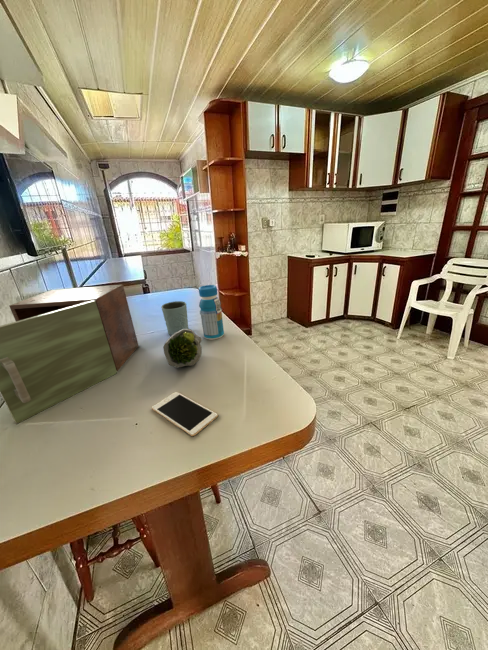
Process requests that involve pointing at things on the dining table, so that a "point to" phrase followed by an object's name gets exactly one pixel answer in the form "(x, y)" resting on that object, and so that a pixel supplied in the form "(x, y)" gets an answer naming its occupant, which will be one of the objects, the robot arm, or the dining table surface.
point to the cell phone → (185, 413)
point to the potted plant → (183, 348)
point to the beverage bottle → (210, 312)
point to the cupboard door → (52, 358)
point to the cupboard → (109, 307)
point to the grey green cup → (175, 316)
